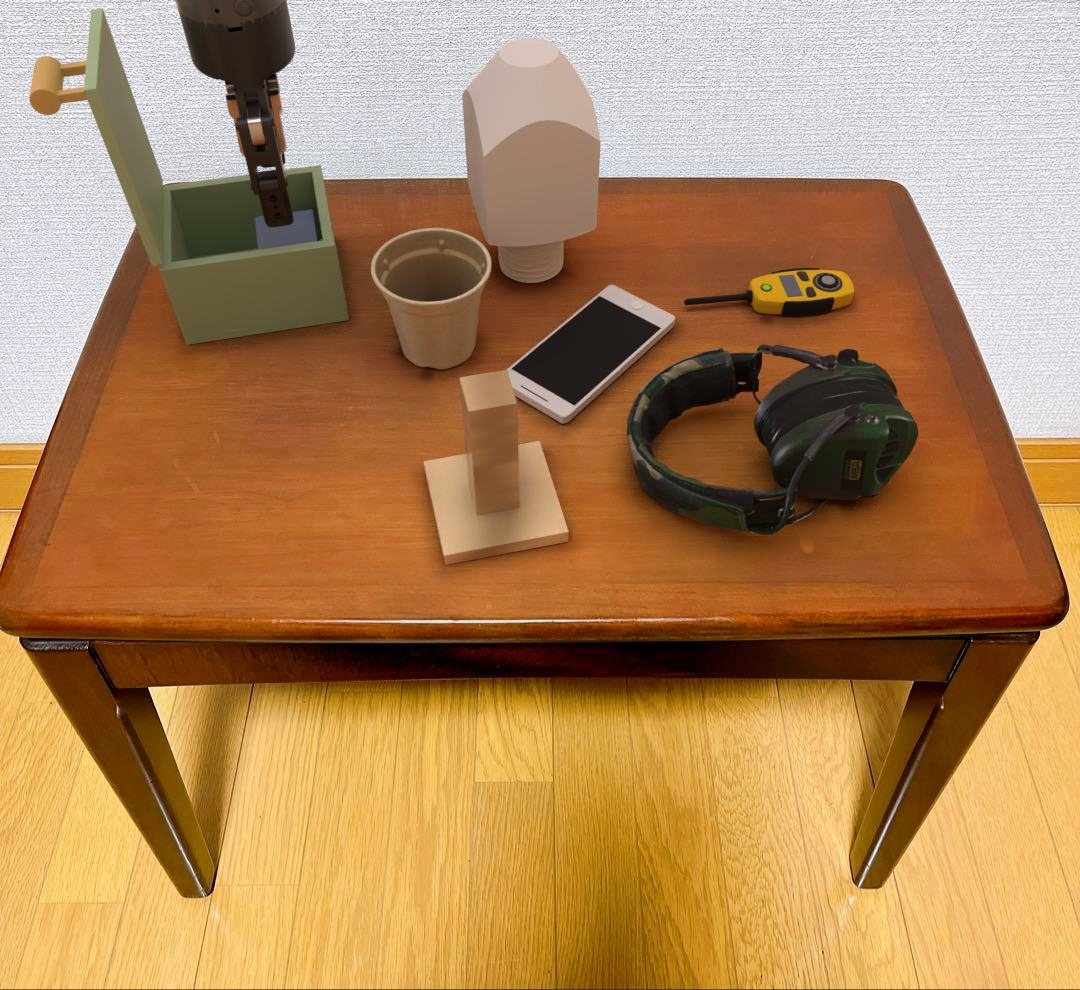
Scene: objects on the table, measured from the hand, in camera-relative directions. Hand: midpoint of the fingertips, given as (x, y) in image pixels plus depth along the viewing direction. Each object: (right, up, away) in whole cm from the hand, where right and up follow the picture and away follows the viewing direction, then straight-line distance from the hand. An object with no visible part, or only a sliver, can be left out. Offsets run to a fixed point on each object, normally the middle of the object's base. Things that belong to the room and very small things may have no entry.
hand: (276, 193), depth 84 cm
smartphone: (+26, -13, +2) cm, 29 cm away
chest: (-3, -6, +7) cm, 10 cm away
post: (+18, -26, -9) cm, 33 cm away
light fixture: (+21, -4, +9) cm, 23 cm away
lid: (-9, +2, -6) cm, 11 cm away
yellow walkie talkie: (+42, -8, +6) cm, 43 cm away
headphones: (+38, -23, -7) cm, 45 cm away
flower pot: (+13, -12, +2) cm, 18 cm away
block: (0, -5, +7) cm, 9 cm away
